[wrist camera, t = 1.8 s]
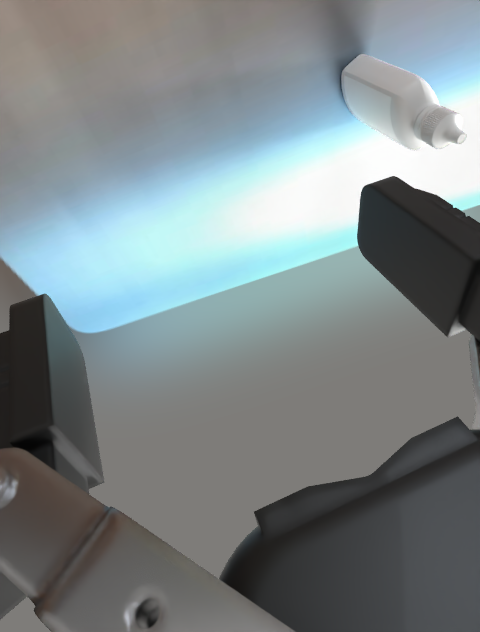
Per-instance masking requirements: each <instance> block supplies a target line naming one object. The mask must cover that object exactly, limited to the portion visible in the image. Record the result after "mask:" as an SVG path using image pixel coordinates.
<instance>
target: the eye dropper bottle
mask: <svg viewBox="0 0 480 632" xmlns="http://www.w3.org/2000/svg"><path fill="white" fill-rule="evenodd" d="M341 84H342V92H343V97H344V100H345V103H346V105H347V107H348V109H349V110H350V112H351V113H352V114H353V115H354V116H355V117H356V118H357V119H358V120H359V121H361V122H362V123H364V124H366V125H367V126H369V127H371V128H372V129H374V130H376V131H378V132H379V133H381V134H383V135H384V136H386V137H388V138H390V139H391V140H393V141H395V142H397V143H398V144H400V145H402V146H404V147H406V148H407V149H410V150H418V149H420V148H422V147H423V146H425V145H426V144H429V145H430V146H432V147H434V148H436V149H442V148H445V147H447V146H448V145H450V144H451V143H456V144H461V143H463V142H464V141H465V139H466V134H465V133H464V132H463V131H462V130H461V126H462V118H461V116H460V115H459V114H458V113H456V112H454V111H452V110H450V109H447V108H445V107H443V106H440V105H439V102H438V99H437V97H436V95H435V93H434V91H433V89H432V88H431V87H430V85H429V84H428V83H427V82H426V81H425V80H424V79H422V78H421V77H419V76H418V75H416V74H413V73H411V72H409V71H406V70H404V69H401V68H399V67H396V66H394V65H391V64H389V63H386V62H384V61H381V60H378V59H376V58H373V57H371V56H368V55H365V54H361V55H359V56H357V57H356V58H355V59H354V60H353V61H352V62H351V63H349V64H348V65H347V66H346V67H345V68H344V70H343V71H342V75H341Z"/></svg>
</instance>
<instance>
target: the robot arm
mask: <svg viewBox="0 0 480 632" xmlns="http://www.w3.org/2000/svg"><path fill="white" fill-rule="evenodd" d="M357 240H358V245H359V248H360V251H361V253H362V254H363V256H364V257H365V258H366V259H367V260H368V261H369V262H370V263H371V264H372V265H373V266H374V267H375V268H376V269H377V270H378V271H379V272H380V273H381V274H382V275H383V276H384V277H385V278H386V279H387V280H388V281H389V282H390V283H392V284H393V285H394V286H395V287H396V288H397V289H398V290H399V291H400V292H401V293H402V294H403V295H404V296H405V297H406V298H407V299H409V301H410V302H411V303H412V304H413V305H414V306H415V307H417V308H418V309H419V310H420V311H421V312H422V313H423V314H424V315H425V316H426V317H427V318H428V319H429V320H430V321H431V322H432V323H433V324H435V326H436V327H437V328H438V329H439V330H441V331H442V332H443V333H444V334H445V335H446V336H447V337H450V336H452V335H455V334H457V333H459V332H462V331H464V330H466V329H467V330H468V331H469V332H470V333H471V334H472V335H471V338H470V341H469V351H470V360H471V368H472V378H473V388H474V396H475V418H474V422H473V428H472V430H469V429H468V428H467V426H466V425H465V424H464V423H463V422H462V421H461V420H460V419H459V417H456V418H454V419H451V420H449V421H447V422H445V423H443V424H441V425H439V426H437V427H434V428H432V429H430V430H428V431H426V432H424V433H421V434H420V435H417V436H415V437H413V438H411V439H410V440H409V441H408V442H407V443H406V444H404V445H403V446H402V447H401V448H400V449H399V450H398V451H397V452H396V453H394V454H393V455H392V456H391V457H390V458H389V459H388V460H387V461H386V462H385V463H384V464H382V465H381V466H380V467H379V468H378V469H377V470H376V471H375V472H374V473H372V474H371V475H369V476H366V477H362V478H356V479H350V480H344V481H338V482H332V483H326V484H320V485H315V486H309V487H306V488H304V489H302V490H299V491H298V492H295V493H293V494H291V495H289V496H287V497H284V498H282V499H280V500H278V501H276V502H274V503H272V504H269V505H267V506H266V507H263V508H261V509H259V510H257V511H255V512H254V514H255V517H256V520H257V523H258V527H256V528H255V529H254V530H253V531H252V532H251V533H250V534H249V535H247V537H246V538H245V539H244V540H243V541H242V542H241V543H240V545H239V546H238V547H237V548H236V550H235V551H234V553H233V554H232V556H231V557H230V559H229V560H228V562H227V564H226V566H225V568H224V570H223V571H222V574H221V575H220V578H219V579H218V578H217V577H215V576H214V575H212V574H211V573H209V572H208V571H206V570H205V569H204V568H202V567H201V566H199V565H198V564H196V563H195V562H193V561H192V560H191V559H189V558H187V557H186V556H185V555H183V554H182V553H180V552H179V551H177V550H176V549H175V548H173V547H172V546H170V545H169V544H167V543H166V542H164V541H163V540H162V539H160V538H159V537H157V536H155V535H154V534H153V533H151V532H150V531H148V530H147V529H146V528H144V527H143V526H141V525H139V524H138V523H137V522H135V521H134V520H132V519H131V518H130V517H128V516H127V515H125V514H124V513H122V512H120V511H119V510H117V509H115V508H113V507H110V508H109V507H107V506H105V505H104V504H102V503H101V502H99V501H98V500H96V499H95V498H93V497H92V496H91V495H89V489H90V488H92V487H95V486H97V485H99V484H102V483H104V477H103V472H102V465H101V459H100V453H99V447H98V441H97V435H96V428H95V422H94V416H93V410H92V405H91V398H90V392H89V385H88V379H87V373H86V367H85V361H84V357H83V354H82V351H81V349H80V346H79V344H78V342H77V340H76V338H75V336H74V335H73V333H72V332H71V330H70V328H69V327H68V325H67V324H66V322H65V321H64V319H63V317H62V316H61V314H60V313H59V311H58V309H57V308H56V306H55V305H54V303H53V301H52V300H51V298H50V297H49V296H48V295H47V294H42V295H39V296H36V297H34V298H30V299H28V300H25V301H22V302H19V303H16V304H13V305H11V306H10V329H9V331H6V332H3V333H0V619H1V618H3V617H4V616H5V615H6V614H7V613H8V612H9V611H11V610H12V609H13V608H14V607H15V606H17V605H18V604H19V603H20V602H21V601H22V600H24V599H25V598H26V597H29V599H30V600H31V601H32V602H33V603H34V605H35V608H34V612H35V614H36V615H37V617H38V618H39V619H40V621H41V622H42V623H43V624H44V625H45V626H46V627H47V628H48V629H49V630H50V631H51V632H480V223H479V222H477V221H476V220H474V219H473V218H471V217H470V216H467V217H466V216H465V213H463V212H462V211H460V210H459V209H457V208H453V205H451V204H449V203H448V202H446V201H445V200H443V199H442V198H440V197H439V196H437V195H434V194H431V193H428V192H425V191H422V190H418V189H414V188H413V187H411V186H410V185H408V184H407V183H405V182H404V181H402V180H401V179H399V178H397V177H395V176H392V177H389V178H386V179H383V180H380V181H377V182H374V183H371V184H368V185H366V186H364V188H363V189H362V192H361V198H360V210H359V222H358V233H357Z"/></svg>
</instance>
